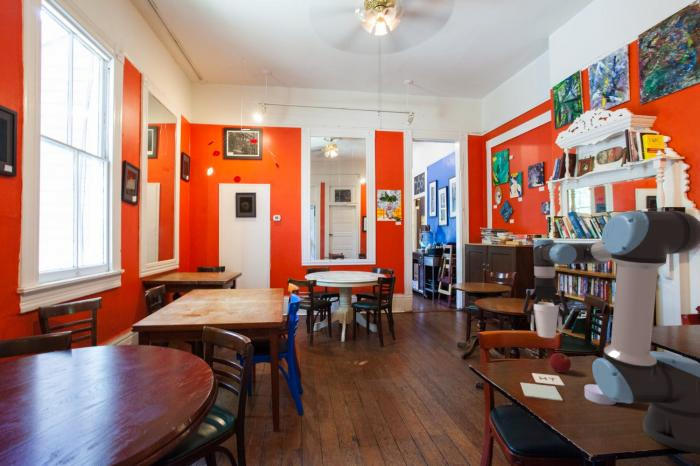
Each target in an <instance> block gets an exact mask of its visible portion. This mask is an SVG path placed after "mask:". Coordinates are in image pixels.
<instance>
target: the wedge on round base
mask: <svg viewBox="0 0 700 466" xmlns="http://www.w3.org/2000/svg"><path fill="white" fill-rule="evenodd" d="M584 397H585V399H586V400H588V401H590V402H593V403H595V404H600V405H606V406H611V405H612V406H613V405H616V403H617V402H615V401H612V400H610V399H609V398H608V397H606V396H605V395H604V394H603V393H602V391H601V390H600V389H599V387H598V385H597V384H593V383H592V384H591V383H589V384H585V385H584Z"/></svg>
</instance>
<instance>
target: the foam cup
mask: <svg viewBox="0 0 700 466" xmlns="http://www.w3.org/2000/svg"><path fill="white" fill-rule="evenodd" d="M532 304H533V302H532ZM532 304H531V305H532ZM559 306H560V304H558V305H556V306H554V304H553V302H546V301H545V302H544V301H539V302H538V304H534V311H533V315H534V324H535V328H536V334H537V336H538V337H541V338H544V339H545V338H547V339H555V338H556V335H557V334H556V333H557V326H558V316H559V312H558V311H559Z"/></svg>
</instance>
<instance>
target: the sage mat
mask: <svg viewBox="0 0 700 466" xmlns="http://www.w3.org/2000/svg"><path fill="white" fill-rule="evenodd" d="M520 386H521V389H522V392H523V395H524V397H527V398H535V399H542V400H543V399H544V400H551V401H560V402H563V401H564V400H563V398H562V396H561V394H560V393H559V392H558V390H557V387H556V385H555V386H554V385H543V384H537V383H527V382H520Z"/></svg>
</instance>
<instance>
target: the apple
mask: <svg viewBox="0 0 700 466" xmlns="http://www.w3.org/2000/svg"><path fill="white" fill-rule="evenodd" d="M549 365H550V367H551V368H552V369H553V370H554V371H555V372H557V373H562V374H563V373H566V372H568V371H569V370H570V369H571V367H572V362H571V359H570V358H569V357H568V356H567V355H565V354H564V353H561V352H556V353H554V354H552V355H551V356H550V358H549Z"/></svg>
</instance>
